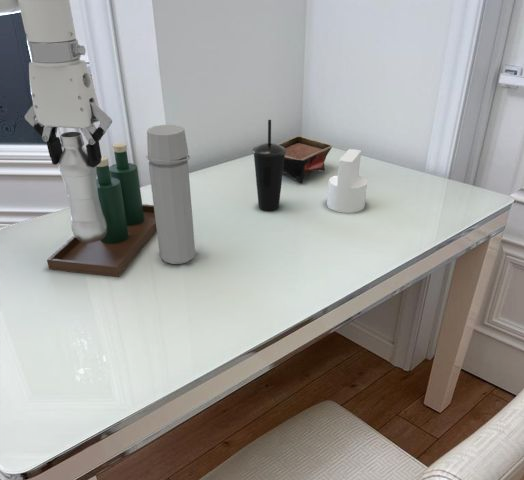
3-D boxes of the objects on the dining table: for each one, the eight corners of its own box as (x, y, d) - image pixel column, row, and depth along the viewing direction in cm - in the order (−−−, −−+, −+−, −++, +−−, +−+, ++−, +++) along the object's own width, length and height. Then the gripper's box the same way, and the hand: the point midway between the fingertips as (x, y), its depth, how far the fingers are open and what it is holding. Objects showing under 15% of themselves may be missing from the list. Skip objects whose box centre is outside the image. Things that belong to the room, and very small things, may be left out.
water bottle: (188, 268, 108) (177, 137, 93) (152, 263, 110) (135, 133, 95) (206, 248, 115) (197, 123, 100) (171, 243, 117) (158, 120, 102)
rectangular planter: (335, 178, 153) (339, 140, 148) (296, 186, 141) (298, 145, 136) (294, 171, 161) (296, 134, 156) (253, 177, 149) (255, 138, 144)
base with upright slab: (359, 215, 128) (365, 163, 121) (322, 209, 131) (326, 158, 124) (368, 201, 135) (374, 151, 128) (332, 196, 138) (336, 147, 130)
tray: (49, 269, 108) (46, 259, 106) (111, 210, 131) (110, 201, 130) (118, 277, 105) (116, 267, 104) (170, 215, 128) (169, 206, 127)
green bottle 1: (113, 224, 123) (99, 148, 113) (123, 213, 128) (111, 139, 117) (138, 226, 122) (127, 149, 112) (148, 216, 127) (138, 141, 116)
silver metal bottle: (79, 231, 111) (57, 129, 99) (113, 232, 111) (94, 129, 99) (70, 246, 106) (45, 139, 94) (104, 246, 106) (84, 140, 94)
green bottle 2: (95, 242, 116) (79, 162, 106) (107, 230, 121) (93, 152, 110) (122, 244, 115) (108, 164, 105) (133, 232, 120) (121, 154, 109)
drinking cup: (291, 208, 131) (294, 121, 119) (264, 216, 128) (265, 126, 116) (272, 198, 136) (273, 113, 124) (246, 205, 133) (245, 118, 121)
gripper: (114, 50, 90) (130, 160, 101) (18, 46, 93) (43, 153, 104) (94, 58, 84) (113, 174, 95) (-8, 54, 87) (22, 167, 98)
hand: (76, 162), depth 99 cm, fingers closed on silver metal bottle, 6 cm apart
